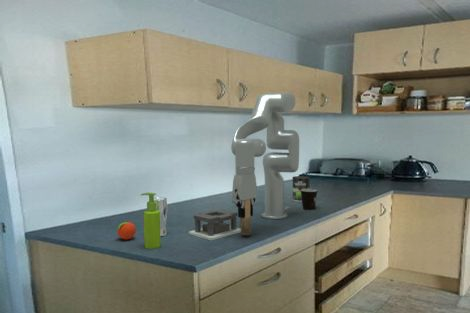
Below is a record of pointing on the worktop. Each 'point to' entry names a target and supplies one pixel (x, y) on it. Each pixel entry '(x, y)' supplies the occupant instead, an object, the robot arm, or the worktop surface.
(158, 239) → the soap dispenser
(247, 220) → the thermos bottle
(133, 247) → the worktop surface
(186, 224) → the worktop surface
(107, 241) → the worktop surface
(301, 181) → the coffee can
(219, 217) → the collar stand
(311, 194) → the coffee mug
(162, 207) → the beer glass
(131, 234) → the clementine
